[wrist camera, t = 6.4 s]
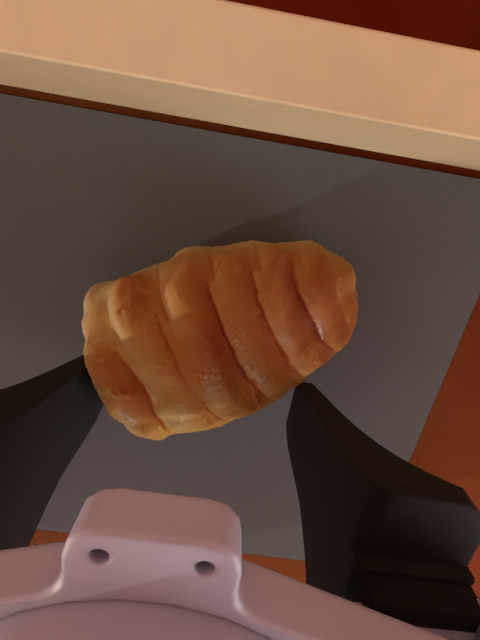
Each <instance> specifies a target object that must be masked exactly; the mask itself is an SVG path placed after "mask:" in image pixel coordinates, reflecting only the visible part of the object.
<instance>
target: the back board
mask: <svg viewBox="0 0 480 640" xmlns="http://www.w3.org/2000/svg"><path fill="white" fill-rule="evenodd" d="M0 84H2V85H7V86H13V87H18V88H24V89H29V90H35V91H40V92H46V93H52V94H57V95H63V96H68V97H74V98H79V99H85V100H90V101H96V102H102V103H107V104H113V105H118V106H124V107H129V108H135V109H140V110H146V111H152V112H157V113H163V114H168V115H174V116H179V117H185V118H190V119H196V120H202V121H207V122H213V123H218V124H224V125H229V126H235V127H240V128H246V129H252V130H257V131H263V132H268V133H274V134H279V135H285V136H290V137H296V138H302V139H307V140H313V141H318V142H324V143H329V144H335V145H340V146H346V147H352V148H357V149H363V150H368V151H374V152H379V153H385V154H391V155H396V156H402V157H407V158H413V159H418V160H424V161H429V162H435V163H441V164H446V165H452V166H457V167H463V168H468V169H474V170H479V171H480V51H478V50H473V49H468V48H463V47H458V46H453V45H448V44H443V43H438V42H433V41H428V40H423V39H418V38H413V37H408V36H403V35H398V34H393V33H388V32H383V31H378V30H373V29H368V28H363V27H358V26H353V25H347V24H342V23H337V22H332V21H327V20H322V19H317V18H312V17H307V16H302V15H297V14H292V13H287V12H282V11H277V10H272V9H267V8H262V7H257V6H252V5H247V4H242V3H237V2H232V1H227V0H0Z"/></svg>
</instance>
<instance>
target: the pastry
mask: <svg viewBox="0 0 480 640" xmlns="http://www.w3.org/2000/svg"><path fill="white" fill-rule="evenodd" d="M355 284H356V277H355V272H354V270H353V267H352V265H351V264H350V263H349V262H347V261H346V260H345V259H344V258H342V257H340V256H339V255H337V254H335V253H333V252H331V251H329V250H327V249H325V248H324V247H322V246H321V245H319V244H317V243H315V242H313V241H309V240H303V241H295V242H279V243H268V242H261V241H255V240H251V241H247V242H239V243H234V244H231V245H226V246H214V247H205V246H190V247H186V248H184V249H182V250H180V251H178V252H177V253H176V254H175V255H174V256H173V257H172V258H170V259H169V260H168V261H165V262H161V263H157V264H154V265H151V266H149V267H147V268H144V269H142V270H139V271H137V272H134V273H132V274H130V275H128V276H125V277H121V278H119V279H117V280H115V281H107V282H100V283H97V284H95V285H93V286H92V287H91V288H90V289H89V291H88V292H87V294H86V296H85V298H84V304H83V307H84V317H83V319H82V322H81V323H82V330H83V334H84V336H85V344H84V361H85V365H86V368H87V370H88V373H89V375H90V377H91V379H92V382H93V385H94V387H95V389H96V391H97V393H98V395H99V397H100V398H101V400H102V402H103V403H104V405H105V407H106V409H107V411H108V413H109V414H110V416H112V417H113V418H114V419H116V420H117V421H119V422H121V423H123V424H124V425H125V426H126V428H127V429H128V430H129V431H130V432H131V433H133V434H134V435H136V436H138V437H142V438H147V439H153V440H159V441H160V440H163V439H165V438H166V437H167V436H169V435H173V434H178V433H188V432H197V431H203V430H210V429H211V428H218V427H221V426H223V425H225V424H227V423H228V422H230V421H232V420H234V419H237V418H241V417H245V416H247V415H248V414H251V413H255V412H258V411H260V410H261V409H262V408H263V407H265V406H267V405H268V404H270V403H272V402H274V401H276V400H278V399H281V398H282V397H283V396H284V395H285V394H286V393H287V392H288V391H289V390H290V389H292V388H294V387H296V386H297V385H299V384H301V383H302V382H304V380H305V379H306V377H307V376H308V375H309V374H311V373H312V372H313V371H314V370H315V369H317V368H318V367H320V366H321V365H323V364H324V363H326V362H328V361H329V360H330V358H331V357H332V356H333V355H335V354H336V353H338V352H339V351H340V350H341V349H342V348H343V347H344V346H345V345H346V344H347V343H348V342H349V341H350V339H351V336H352V333H353V330H354V327H355V324H356V322H357V312H358V300H357V291H356V288H355Z"/></svg>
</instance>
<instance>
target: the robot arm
mask: <svg viewBox="0 0 480 640" xmlns="http://www.w3.org/2000/svg"><path fill="white" fill-rule="evenodd" d="M103 405H104V403H103V402H102V400H101V398H100V397H99V395H98V393H97V391H96V389H95V387H94V385H93V382H92V379H91V377H90V375H89V373H88V370H87V368H86V365H85V361H84V355H82V356H80V357H77V358H75V359H73V360H71V361H69V362H67V363H65V364H63V365H61V366H59V367H56V368H54V369H52V370H50V371H48V372H45V373H43V374H41V375H38V376H36V377H34V378H31V379H29V380H26V381H24V382H21V383H18V384H16V385H13V386H10V387H7V388H4V389H1V390H0V640H480V596H479V597H477V596H476V595H475V593H474V591H473V589H472V587H471V586H470V585H473V584H474V582H475V581H474V577H473V575H472V573H471V572H470V570H469V568H468V566H467V565H468V564H469V562H470V560H471V558H472V557H473V555H474V553H475V551H476V550H477V548H478V546H479V544H480V512H479V510H478V509H477V507H476V506H475V505H474V503H473V502H472V500H471V499H470V498H469V496H468V495H467V493H466V492H465V491H464V489H463V488H461V487H458V486H456V485H454V484H452V483H449V482H447V481H445V480H442V479H440V478H438V477H436V476H433V475H431V474H429V473H427V472H425V471H423V470H422V469H420V468H418V467H416V466H414V465H412V464H410V463H408V462H407V461H405V460H403V459H401V458H400V457H398V456H397V455H395V454H393V453H392V452H390V451H389V450H387V449H386V448H384V447H383V446H381V445H380V444H378V443H377V442H376V441H374V440H373V439H372V438H370V437H369V436H368V435H366V434H365V433H364V432H362V431H361V430H360V429H359V428H358V427H356V426H355V425H354V424H353V423H352V422H351V421H350V420H349V419H347V418H346V417H345V416H344V415H343V414H342V413H341V412H340V411H339V410H338V409H337V408H336V407H335V406H334V405H333V404H332V403H331V402H330V401H329V400H328V399H327V398H326V397H325V396H324V395H323V394H322V393H321V392H320V390H319V389H318V388H317V387H316V386H315V385H313V384H312V383H307V382H302V383H301V384H299V385H297V386H296V387H295V390H294V394H293V398H292V402H291V406H290V410H289V414H288V418H287V422H286V433H287V446H288V451H289V456H290V461H291V466H292V471H293V475H294V480H295V485H296V489H297V494H298V499H299V505H300V512H301V522H302V531H303V542H304V554H305V567H306V582H307V584H306V583H303V582H301V581H298V580H295V579H293V578H290V577H288V576H285V575H283V574H280V573H277V572H275V571H272V570H270V569H267V568H265V567H262V566H259V565H257V564H254V563H252V562H249V561H247V560H244V559H242V531H241V524H240V517H239V516H238V515H237V514H236V513H235V512H234V511H233V510H232V509H231V508H230V507H229V506H228V505H226V504H223V503H220V502H218V501H215V500H212V499H208V498H200V497H192V496H184V495H176V494H168V493H160V492H152V491H144V490H135V489H127V488H115V489H103V490H100V491H98V492H97V493H95V494H93V495H92V496H90V497H88V498H87V499H86V501H85V503H84V505H83V507H82V509H81V511H80V513H79V515H78V517H77V519H76V521H75V523H74V526H73V528H72V530H71V532H70V534H69V536H68V538H67V540H66V541H64V542H56V543H49V544H42V545H34V546H29V544H30V542H31V539H32V537H33V535H34V533H35V530H36V528H37V526H38V524H39V522H40V520H41V518H42V515H43V513H44V511H45V509H46V507H47V505H48V503H49V501H50V499H51V497H52V495H53V493H54V491H55V488H56V486H57V484H58V482H59V480H60V479H61V477H62V475H63V473H64V472H65V470H66V468H67V467H68V465H69V463H70V462H71V460H72V459H73V457H74V456H75V454H76V452H77V451H78V449H79V448H80V446H81V445H82V443H83V441H84V440H85V438H86V437H87V435H88V433H89V432H90V430H91V429H92V427H93V425H94V424H95V422H96V420H97V418H98V416H99V414H100V412H101V409H102V407H103Z"/></svg>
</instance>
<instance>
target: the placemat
mask: <svg viewBox="0 0 480 640" xmlns="http://www.w3.org/2000/svg"><path fill="white" fill-rule="evenodd" d="M251 240H255V241H261V242H268V243H279V242H295V241H303V240H309V241H313V242H315V243H317V244H319V245H321V246H322V247H324V248H325V249H327V250H329V251H331V252H333V253H335V254H337V255H339V256H340V257H342V258H344V259H345V260H346V261H347V262H349V263H350V264H351V265H352V267H353V270H354V272H355V277H356V284H355V288H356V291H357V300H358V312H357V322H356V324H355V327H354V330H353V333H352V336H351V339H350V341H349V342H348V343H347V344H346V345H345V346H344V347H343V348H342V349H341V350H340V351H339V352H338V353H336V354H335V355H333V356H332V357H331V358H330V360H329V361H328V362H326V363H324V364H323V365H321V366H320V367H318V368H317V369H315V370H314V371H313V372H312V373H311V374H309V375H308V376H307V377H306V379H305V380H304V382H307V383H312V384H313V385H315V386H316V387H317V388H318V389H319V390H320V392H321V393H322V394H323V395H324V396H325V397H326V398H327V399H328V400H329V401H330V402H331V403H332V404H333V405H334V406H335V407H336V408H337V409H338V410H339V411H340V412H341V413H342V414H343V415H344V416H345V417H346V418H347V419H349V420H350V421H351V422H352V423H353V424H354V425H355V426H356V427H358V428H359V429H360V430H361V431H362V432H364V433H365V434H366V435H368V436H369V437H370V438H372V439H373V440H374V441H376V442H377V443H378V444H380V445H381V446H383V447H384V448H386V449H387V450H389V451H390V452H392V453H393V454H395V455H397V456H398V457H400V458H401V459H403V460H405V461H407V462H408V463H409V460H410V458H411V455H412V453H413V451H414V448H415V446H416V444H417V441H418V439H419V436H420V434H421V432H422V429H423V427H424V425H425V422H426V420H427V417H428V415H429V413H430V410H431V408H432V406H433V403H434V401H435V398H436V396H437V394H438V391H439V389H440V387H441V384H442V382H443V379H444V377H445V375H446V372H447V370H448V368H449V365H450V363H451V360H452V358H453V356H454V353H455V351H456V349H457V346H458V344H459V341H460V339H461V337H462V334H463V332H464V330H465V327H466V325H467V322H468V320H469V318H470V315H471V313H472V311H473V308H474V306H475V303H476V301H477V299H478V296H479V294H480V179H478V178H472V177H467V176H461V175H456V174H450V173H444V172H439V171H433V170H428V169H422V168H416V167H411V166H405V165H400V164H394V163H388V162H383V161H377V160H372V159H366V158H360V157H355V156H349V155H344V154H338V153H332V152H327V151H321V150H316V149H310V148H304V147H299V146H293V145H288V144H282V143H276V142H271V141H265V140H260V139H254V138H248V137H243V136H237V135H232V134H226V133H220V132H215V131H209V130H204V129H198V128H192V127H187V126H181V125H176V124H170V123H164V122H159V121H153V120H148V119H142V118H136V117H131V116H125V115H120V114H114V113H108V112H103V111H97V110H92V109H86V108H80V107H75V106H69V105H64V104H58V103H52V102H47V101H41V100H36V99H30V98H25V97H19V96H13V95H8V94H2V93H0V390H1V389H4V388H7V387H10V386H13V385H16V384H18V383H21V382H24V381H26V380H29V379H31V378H34V377H36V376H38V375H41V374H43V373H45V372H48V371H50V370H52V369H54V368H56V367H59V366H61V365H63V364H65V363H67V362H69V361H71V360H73V359H75V358H77V357H80V356H82V355H84V344H85V336H84V334H83V330H82V323H81V322H82V319H83V317H84V307H83V304H84V298H85V296H86V294H87V292H88V291H89V289H90V288H91V287H92V286H93V285H95V284H97V283H100V282H107V281H115V280H117V279H119V278H121V277H125V276H128V275H130V274H132V273H134V272H137V271H139V270H142V269H144V268H147V267H149V266H151V265H154V264H157V263H161V262H165V261H168V260H169V259H170V258H172V257H173V256H174V255H175V254H176V253H177V252H178V251H180V250H182V249H184V248H186V247H190V246H205V247H214V246H226V245H231V244H234V243H239V242H247V241H251ZM294 390H295V387H294V388H292V389H290V390H289V391H288V392H287V393H286V394H285V395H284V396H283V397H282V398H281V399H278V400H276V401H274V402H272V403H270V404H268V405H267V406H265V407H263V408H262V409H261V410H260V411H258V412H255V413H251V414H248V415H247V416H245V417H241V418H237V419H234V420H232V421H230V422H228V423H227V424H225V425H223V426H221V427H218V428H211V429H210V430H203V431H197V432H188V433H178V434H173V435H169V436H167V437H166V438H165V439H163V440H160V441H159V440H153V439H147V438H142V437H138V436H136V435H134V434H133V433H131V432H130V431H129V430H128V429H127V428H126V426H125V425H124V424H123V423H121V422H119V421H117V420H116V419H114V418H113V417H112V416H110V414H109V413H108V411H107V409H106V407H105V405H103V407H102V409H101V412H100V414H99V416H98V418H97V420H96V422H95V424H94V425H93V427H92V429H91V430H90V432H89V433H88V435H87V437H86V438H85V440H84V441H83V443H82V445H81V446H80V448H79V449H78V451H77V452H76V454H75V456H74V457H73V459H72V460H71V462H70V463H69V465H68V467H67V468H66V470H65V472H64V473H63V475H62V477H61V479H60V480H59V482H58V484H57V486H56V488H55V491H54V493H53V495H52V497H51V499H50V501H49V503H48V505H47V507H46V509H45V511H44V513H43V515H42V518H41V520H40V522H39V524H38V526H37V528H36V529H37V530H46V531H55V532H63V533H70V532H71V530H72V528H73V526H74V523H75V521H76V519H77V517H78V515H79V513H80V511H81V509H82V507H83V505H84V503H85V501H86V499H87V498H88V497H90V496H92V495H93V494H95V493H97V492H98V491H100V490H103V489H115V488H127V489H135V490H144V491H152V492H160V493H168V494H176V495H184V496H192V497H200V498H208V499H212V500H215V501H218V502H220V503H223V504H226V505H228V506H229V507H230V508H231V509H232V510H233V511H234V512H235V513H236V514H237V515H238V516H239V517H240V524H241V531H242V553H244V554H253V555H262V556H270V557H279V558H287V559H296V560H305V554H304V542H303V531H302V522H301V512H300V505H299V499H298V494H297V489H296V485H295V480H294V475H293V471H292V466H291V461H290V456H289V451H288V446H287V433H286V422H287V418H288V414H289V410H290V406H291V402H292V398H293V394H294Z"/></svg>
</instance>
